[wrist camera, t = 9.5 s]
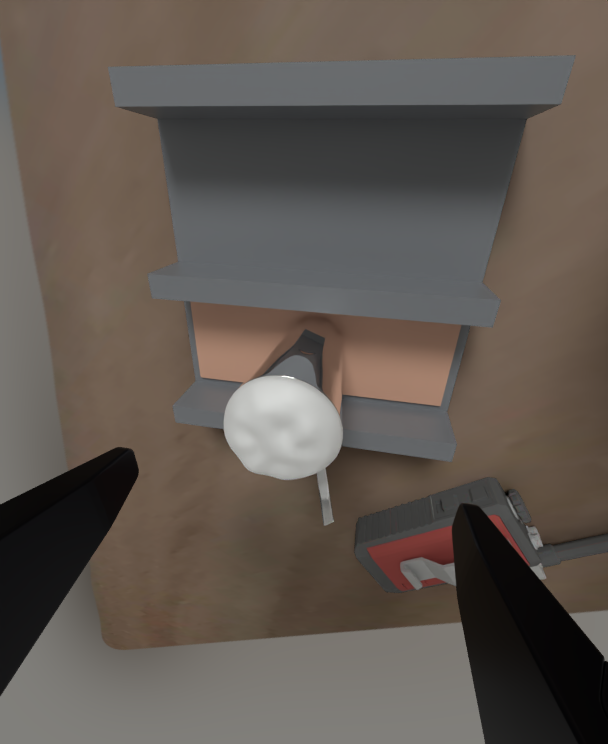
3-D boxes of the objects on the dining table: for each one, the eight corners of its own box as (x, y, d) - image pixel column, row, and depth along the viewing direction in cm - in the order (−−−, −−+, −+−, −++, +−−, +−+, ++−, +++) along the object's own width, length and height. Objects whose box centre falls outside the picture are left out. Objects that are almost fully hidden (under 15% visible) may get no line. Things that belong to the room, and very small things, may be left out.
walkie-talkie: (392, 580, 31) (662, 522, 23) (393, 635, 28) (718, 589, 19) (339, 518, 29) (621, 427, 21) (333, 569, 25) (677, 483, 17)
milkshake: (320, 400, 22) (282, 544, 13) (261, 337, 20) (176, 452, 12) (380, 361, 20) (382, 500, 11) (318, 288, 18) (267, 383, 10)
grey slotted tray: (529, 80, 14) (578, 46, 11) (439, 420, 22) (450, 464, 19) (163, 85, 16) (106, 60, 13) (204, 391, 25) (176, 424, 21)
